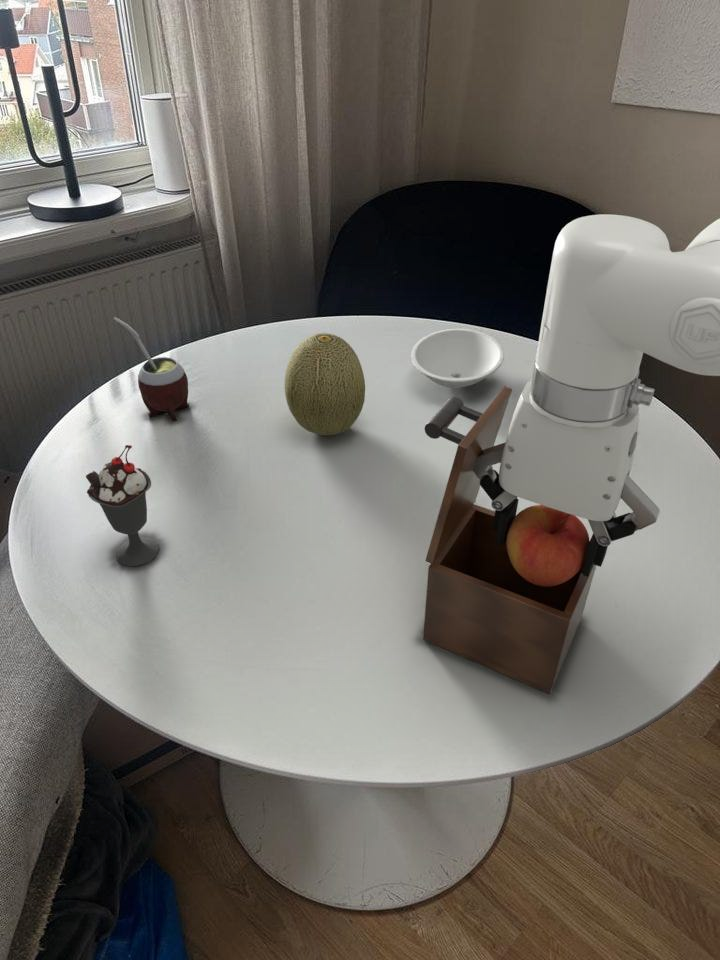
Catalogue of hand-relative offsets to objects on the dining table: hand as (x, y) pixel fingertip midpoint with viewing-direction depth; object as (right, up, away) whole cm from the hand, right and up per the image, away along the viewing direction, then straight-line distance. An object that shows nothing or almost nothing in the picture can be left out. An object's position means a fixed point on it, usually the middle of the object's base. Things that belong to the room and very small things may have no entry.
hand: (545, 550), depth 65 cm
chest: (-2, -9, +9) cm, 13 cm away
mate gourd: (-47, +17, +43) cm, 66 cm away
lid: (-7, +7, 0) cm, 10 cm away
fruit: (-22, +14, +39) cm, 47 cm away
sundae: (-44, -2, +19) cm, 48 cm away
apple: (0, -3, +2) cm, 3 cm away
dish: (-2, +23, +49) cm, 54 cm away
